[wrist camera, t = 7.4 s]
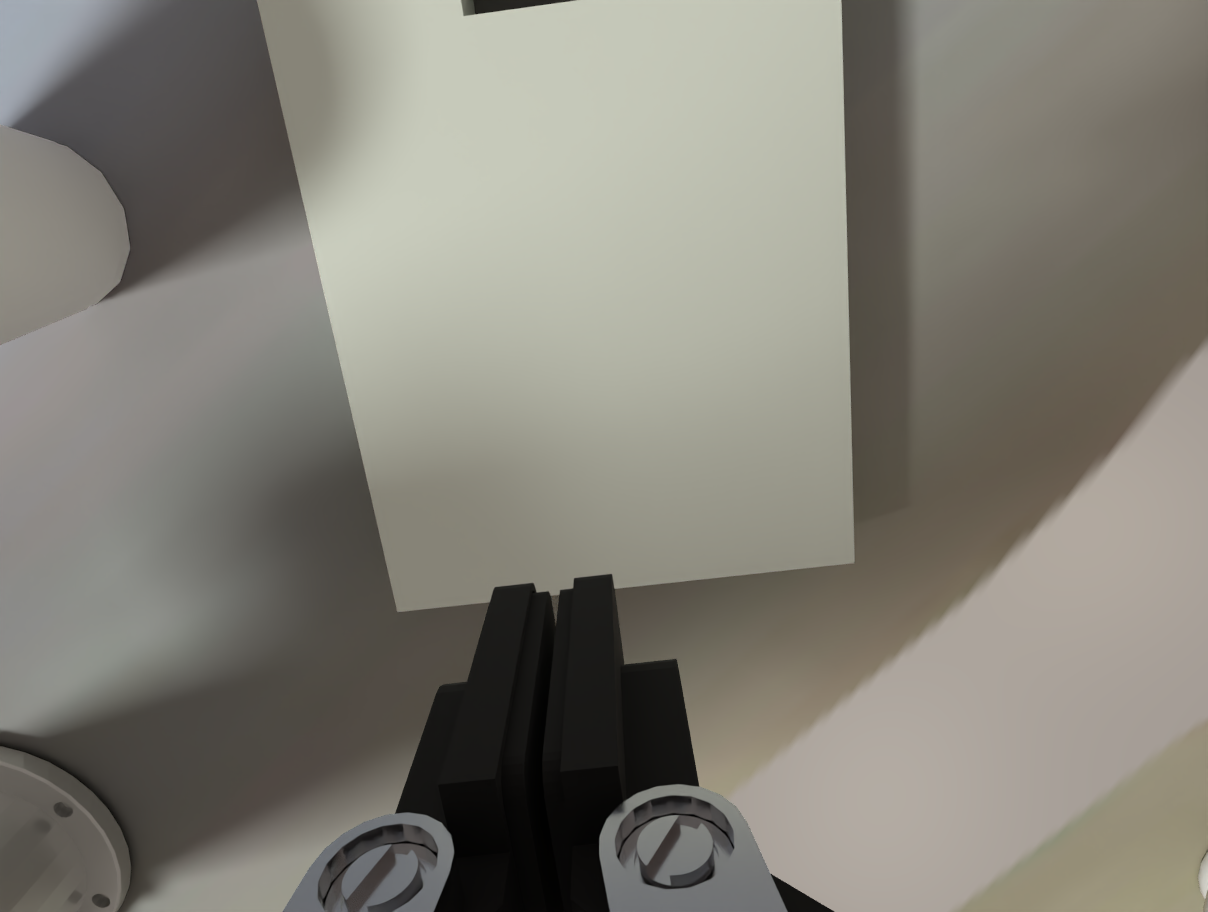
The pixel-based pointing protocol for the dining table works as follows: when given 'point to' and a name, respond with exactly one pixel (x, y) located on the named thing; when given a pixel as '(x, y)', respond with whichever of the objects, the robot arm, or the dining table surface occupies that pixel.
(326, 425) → the dining table surface
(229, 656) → the dining table surface
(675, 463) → the hole board
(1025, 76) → the dining table surface
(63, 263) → the foam cup
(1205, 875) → the flower vase
